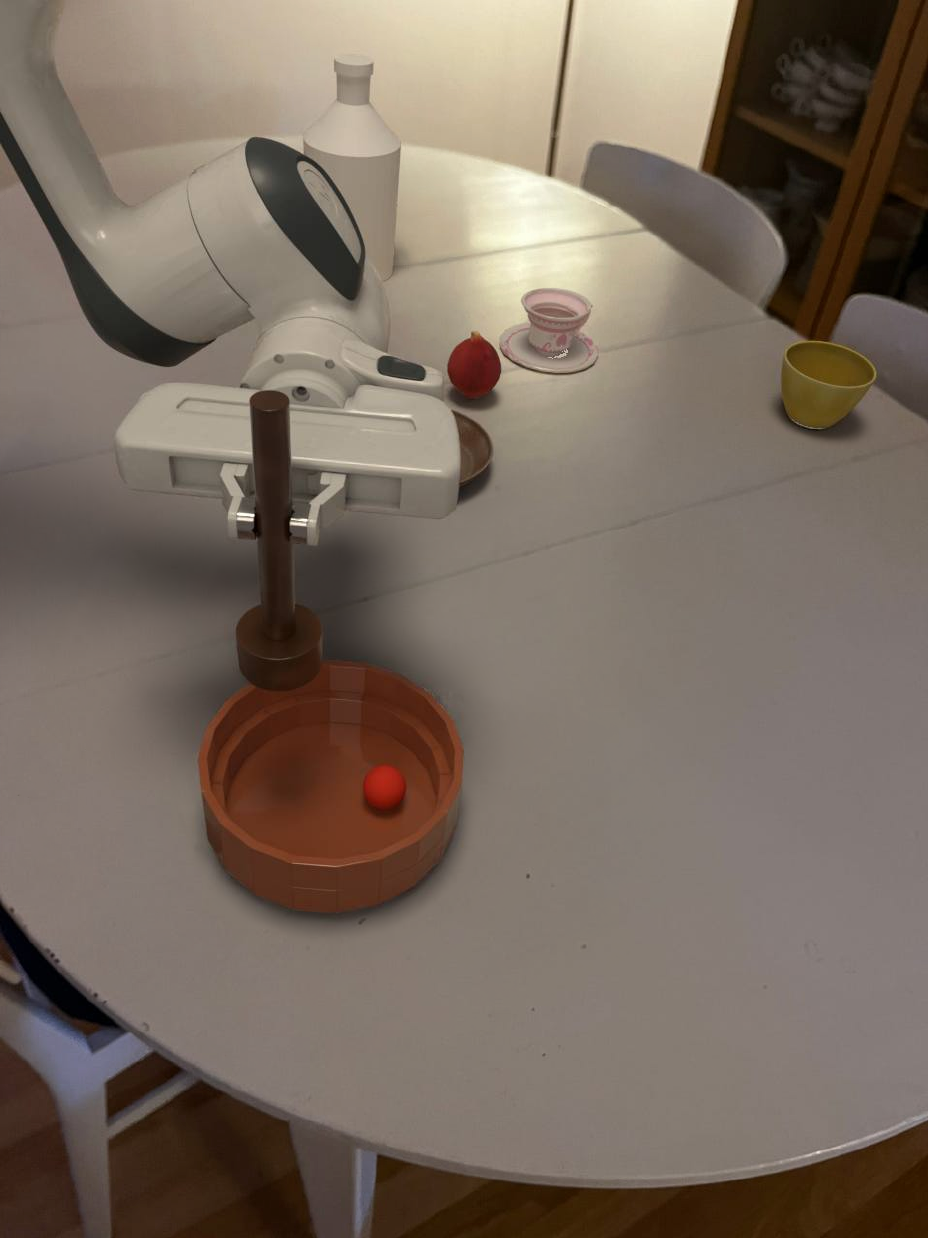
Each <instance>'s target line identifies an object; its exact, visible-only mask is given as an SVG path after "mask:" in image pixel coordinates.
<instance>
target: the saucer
mask: <svg viewBox="0 0 928 1238" xmlns="http://www.w3.org/2000/svg"><path fill="white" fill-rule="evenodd" d="M451 411H452V412H453V414H454V417H455V420H456V423H457V428H458V433H459V440H460V451H461V467H460V481H459V488H461V487H463V486H464V485H467V484H468V483H470V482H471V481H473V480H474V479H476V478H477V477H478V475H480V474H481V473H482V472H483V471H484V470H485V469H486V468H487V467H488V466H489V464H490V462H491V461H492V458H493V454H494V446H493V441H492V438H491V436H490V435H489V433H488V431H486V429H485V428H484V427H483V426H482V425H481V424H480V423H479V422H478V421H476V420H474V419H473V418H472V417H470V416H467V415H465V414H463V413H462V412H459V411H457V410H454V409H451Z"/></svg>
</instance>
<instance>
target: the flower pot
mask: <svg viewBox="0 0 928 1238" xmlns="http://www.w3.org/2000/svg"><path fill="white" fill-rule="evenodd" d="M780 377H781V380H780V382H781V383H780V384H781V385H780V386H781V395H782V400H783V401H782V402H783V405H784V409H785V412H786V415H787V414H788V415H787V417H788V416H789V417H790V418H791V419H793V420H794V421H795V422H798V423H799V424H802V425H804V426H808V427H813V428H827V427H829V428H830V427H832V426H834V425H835V424H837V423H838V422H840V421H841V420H842V419H844V417H846V416H847V415H848V414H849V413H850V412H851V411H852V410H853V409H854V408H856V406H857V405H858V404H859V403H860V402H861V401H862V399H863V398H864V397H865V395H866V394H867V393H868V391H869V390H870V389H871V387H872V385H873V384H874V382H875V381H876V378H877V370H876V368H875V366H874V365H873V363H872V362H871V361H870V360H869V359H868V358H866V357H865V356H864V355H862V354H861V353H859V352H858V351H855V350H853V349H851V348H849V347H847V346H844V345H840V344H837V343H833V342H828V341H823V340H803V341H798V342H795V343H791V344H790V345H789V346H787V347H786V348H785V350H784V353H783V359H782V365H781V375H780ZM789 417H788V418H789ZM827 429H828V428H827Z"/></svg>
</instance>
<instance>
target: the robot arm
mask: <svg viewBox="0 0 928 1238" xmlns="http://www.w3.org/2000/svg"><path fill="white" fill-rule="evenodd" d="M68 2H69V0H0V147H1V148H2V150H3V152H4V154H5V155H6V157H7V159H8V161H9V162H10V164H11V167H12V168H13V170H14V172H15V173H16V176H17V177H18V179H19V180H20V183H21V184H22V186H23V188H24V190H25V192H26V194H27V195H28V197H29V199H30V201H31V203H32V205H33V207H34V208H35V210H36V212H37V214H38V215H39V217H40V220H41V221H42V222H43V225H44V227H45V229H46V230H47V232H48V234H49V236H50V237H51V240H52V242H53V243H54V246H55V247H56V249H57V252H58V254H59V256H60V259H61V261H62V263H63V267H64V269H65V271H66V274H67V276H68V279H69V282H70V284H71V287H72V290H73V292H74V295H75V297H76V299H77V302H78V304H79V306H80V309H81V310H82V313H83V315H84V316H85V318H86V320H87V322H88V323H89V325H90V327H91V328H92V330H93V331H94V332H95V334H96V335H97V336H98V337H99V338H100V339H101V341H102V342H103V343H104V344H106V345H107V346H108V347H110V348H111V349H113V350H114V351H116V352H118V353H120V354H121V355H124V356H126V357H128V358H131V359H133V360H136V361H139V362H141V363H145V364H149V365H152V366H158V367H162V368H172V367H176V366H178V365H180V364H182V363H183V362H185V361H186V360H187V359H189V358H191V357H192V356H194V355H196V354H197V353H198V352H200V351H201V350H203V349H205V348H206V347H208V346H209V345H211V344H212V343H214V342H215V341H216V340H217V339H218V338H219V337H222V336H224V335H225V334H227V333H229V332H231V331H233V330H235V329H237V328H239V327H241V326H243V325H245V324H248V323H249V322H251V321H253V320H255V321H256V323H257V324H258V327H259V335H258V338H257V340H256V342H255V345H254V347H253V349H252V352H251V355H250V357H249V360H248V362H247V366H246V367H245V370H244V372H243V375H242V378H241V381H240V383H239V386H238V387H235V386H225V385H215V384H205V383H195V382H187V381H186V382H183V381H173V382H172V381H170V382H165V383H161V384H158V385H156V386H154V387H152V388H151V389H150V390H145V391H144V392H143V393H141V395H140V396H139V398H138V401H137V402H136V403H135V405H133V407H132V408H131V409H130V411H128V413H127V414H126V416H125V417H124V418H123V420H122V421H121V423H120V425H118V428H117V429H116V431H115V434H114V438H113V439H114V440H113V443H114V454H115V460H116V465H117V470H118V475H119V476H120V478H121V480H122V481H123V482H124V483H125V485H126V486H127V487H128V488H129V489H130V490H133V491H137V492H146V493H147V492H148V493H157V494H158V493H159V494H170V495H179V496H189V497H190V496H191V497H198V498H201V497H202V498H210V499H221V502H222V506H223V508H224V509H225V511H226V513H227V519H226V523H227V535H228V538H229V539H238V540H251V541H256V540H257V524H256V507H255V490H254V473H253V456H252V438H251V421H250V404H249V400H250V397H251V396H252V395H253V394H255V393H257V392H259V391H264V390H274V391H279V392H282V393H284V394H286V395H287V396H288V398H289V400H290V431H291V468H292V504H293V514H291V518H290V532H291V535H290V543H294V545H304V546H312V547H317V546H318V542H319V538H320V534H321V530H324V529H326V528H328V527H329V526H330V525H332V524H333V523H335V522H336V521H337V520H339V519H340V518H342V517H343V516H344V513H345V511H346V512H347V511H348V512H359V513H368V514H369V513H371V514H379V515H390V516H401V517H410V518H411V517H412V518H421V519H430V520H442V519H445V518H446V517H448V516H450V515H451V514H453V513H454V512H455V511H456V510H457V506H458V498H459V492H460V487H459V481H460V467H461V451H460V440H459V433H458V428H457V423H456V420H455V417H454V414H453V412H452V411H451V410H452V409H451V408H450V406H448V405H447V403H446V402H445V401H446V396H445V394H446V393H445V392H446V391H445V378H444V374H443V373H442V372H441V371H440V370H438V369H436V368H434V367H431V366H428V365H424V364H420V363H416V362H414V361H410V360H406V359H403V358H402V357H401V358H400V357H398V356H395V355H393V354H390V353H388V351H389V346H390V334H391V315H390V307H389V300H388V296H387V292H386V288H385V285H384V282H382V280H381V277H380V275H379V274H378V272H377V270H376V269H375V267H374V266H373V264H372V263H371V262H370V260H369V259H368V258H367V257H366V256H365V245H364V241H363V238H362V235H361V233H360V230H359V228H358V225H357V223H356V221H355V218H354V216H353V214H352V212H351V210H350V208H349V206H348V204H347V203H346V201H345V199H344V197H343V196H342V194H341V192H340V191H339V189H338V188H337V186H336V185H335V184H334V182H333V181H332V179H331V178H330V177H329V175H328V174H327V173H326V172H325V170H324V169H323V168H322V167H321V166H320V165H319V164H318V163H316V162H315V161H314V160H312V159H311V158H309V157H307V156H306V155H304V153H302V152H301V151H300V150H299V151H298V150H296V149H295V148H292V147H291V146H289V145H287V144H286V143H282V142H280V141H277V140H274V139H271V138H266V137H260V136H252V137H250V138H249V139H248V140H245V141H244V142H242V143H240V144H238V145H236V146H234V147H233V148H231V149H229V150H227V151H225V152H223V153H222V154H220V155H218V156H216V157H215V158H213V159H212V160H209V161H208V162H206V163H204V164H203V165H200V166H199V167H197V168H196V169H194V170H193V172H191V174H189V175H187V176H185V177H183V178H182V179H181V178H180V180H178V181H176V182H175V183H173V184H171V185H170V186H167V187H166V188H164V189H162V190H161V191H159V192H157V193H155V194H154V195H152V196H150V197H149V198H147V199H145V200H143V201H142V202H139V203H137V204H135V205H131V204H128V203H126V202H125V201H124V200H122V199H121V198H120V197H119V195H118V194H117V192H116V190H115V188H114V186H113V184H112V182H111V180H110V178H109V176H108V174H107V172H106V170H105V168H104V166H103V164H102V162H101V161H100V158H99V156H98V154H97V152H96V150H95V148H94V146H93V144H92V142H91V140H90V138H89V136H88V134H87V132H86V130H85V128H84V126H83V124H82V122H81V120H80V118H79V116H78V114H77V113H76V112H77V111H76V110H75V108H74V106H73V104H72V102H71V100H70V98H69V96H68V94H67V92H66V90H65V88H64V87H65V86H64V85H63V83H62V80H61V76H60V73H59V69H58V64H57V63H58V62H57V53H56V51H57V50H56V45H57V35H58V31H59V25H60V22H61V19H62V16H63V13H64V10H65V8H66V5H67V3H68Z"/></svg>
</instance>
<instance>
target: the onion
mask: <svg viewBox="0 0 928 1238" xmlns="http://www.w3.org/2000/svg"><path fill="white" fill-rule="evenodd" d="M446 369H447V370H446V372H447V376H448V378H449V381H450V383H451V384H452V386H454V388H455V389H456V390H458V392H459V393H460V394H462V395H463V396H464V398H466V399H468V400H470V401H471V400H475V399H478V398H481V397H483V396H484V395H487V394H488V393H490V392H491V391H493V390H494V389H495V386H496V385H497V384H498V383H499V380H500V378H501V374H502V363H501V359H500V355H499V353H498V351H497V350H496V348H495V347H494V346H493V344H492V343H491V342H490V341H488V340H486V339H485V338H484V337H483V336H482V335H481V333H480V332H479V331H478V330H474V331H471V333H470V337H468V338H466V339H464V340H463V341H461V342H459V344H457V345H456V346H455V347H454V348H453V350H452V351H451V353H450V355H449V358H448V360H447V364H446Z"/></svg>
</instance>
